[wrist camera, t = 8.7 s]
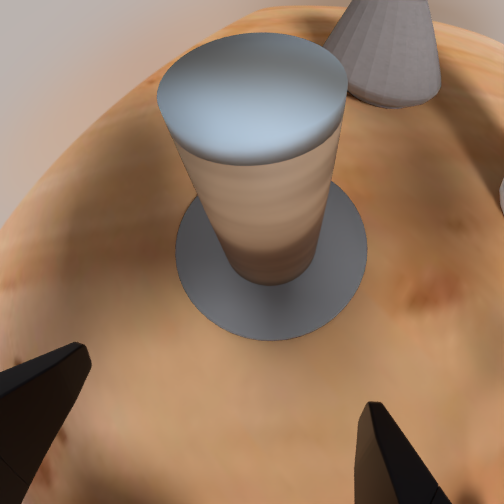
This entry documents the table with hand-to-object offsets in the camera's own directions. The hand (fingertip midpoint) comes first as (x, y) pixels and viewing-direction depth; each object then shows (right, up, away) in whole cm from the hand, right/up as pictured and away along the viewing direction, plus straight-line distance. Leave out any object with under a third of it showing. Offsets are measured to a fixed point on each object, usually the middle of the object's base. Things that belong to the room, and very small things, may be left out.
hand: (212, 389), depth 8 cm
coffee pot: (+17, +23, +18) cm, 34 cm away
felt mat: (+2, +4, +11) cm, 12 cm away
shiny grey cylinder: (+2, +5, +11) cm, 12 cm away
